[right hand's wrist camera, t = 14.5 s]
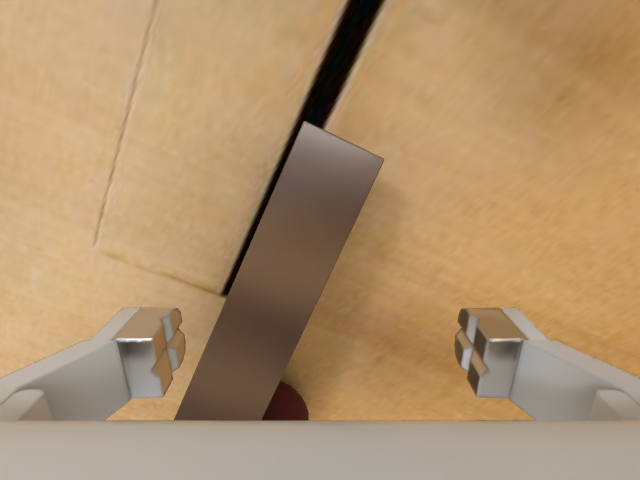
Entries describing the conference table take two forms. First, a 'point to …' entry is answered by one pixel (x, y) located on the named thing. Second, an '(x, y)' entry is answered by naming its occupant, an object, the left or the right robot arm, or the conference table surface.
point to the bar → (281, 277)
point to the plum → (286, 405)
